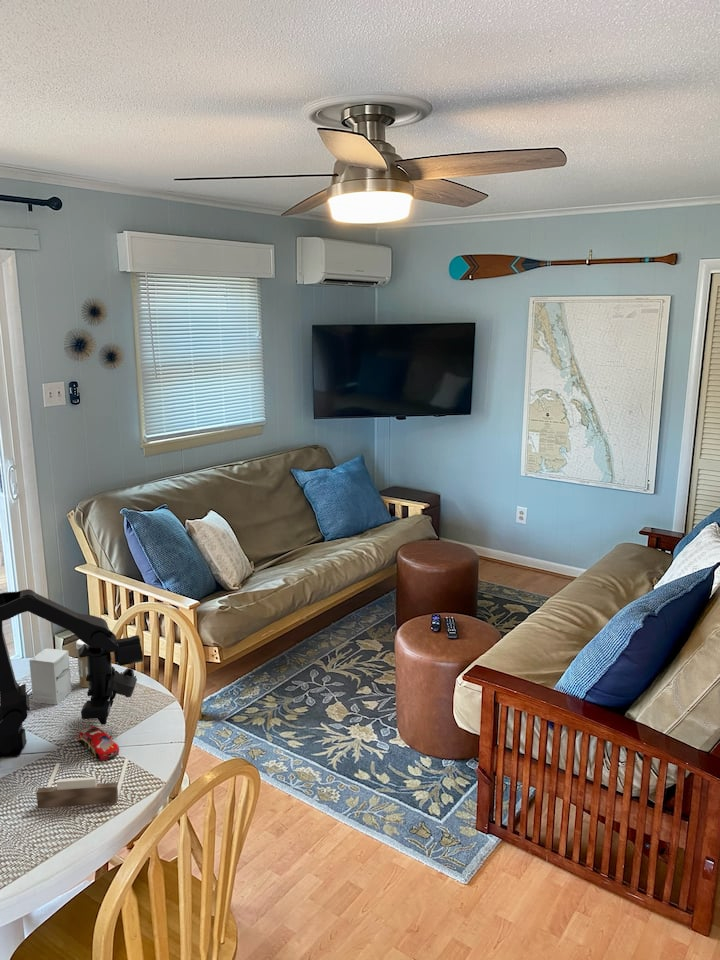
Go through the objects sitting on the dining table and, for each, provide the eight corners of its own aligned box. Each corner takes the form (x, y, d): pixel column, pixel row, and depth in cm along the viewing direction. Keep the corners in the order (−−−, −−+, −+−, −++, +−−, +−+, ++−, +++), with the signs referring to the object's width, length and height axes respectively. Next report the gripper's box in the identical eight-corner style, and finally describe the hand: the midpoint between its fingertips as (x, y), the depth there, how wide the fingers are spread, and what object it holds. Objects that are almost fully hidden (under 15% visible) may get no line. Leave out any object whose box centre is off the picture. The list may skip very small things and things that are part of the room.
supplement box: (56, 705, 195) (53, 662, 192) (32, 702, 197) (28, 659, 194) (72, 691, 202) (69, 650, 199) (48, 688, 204) (45, 647, 201)
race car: (122, 755, 175) (122, 741, 174) (101, 765, 171) (100, 750, 170) (96, 732, 184) (95, 718, 183) (76, 741, 180) (74, 727, 179)
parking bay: (37, 808, 156) (35, 784, 155) (56, 764, 171) (54, 741, 170) (116, 802, 159) (115, 778, 157) (128, 759, 173) (127, 737, 172)
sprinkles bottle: (95, 687, 205) (92, 643, 202) (78, 688, 204) (74, 645, 201) (97, 679, 209) (94, 636, 206) (80, 680, 208) (77, 637, 205)
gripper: (127, 685, 173) (130, 743, 177) (138, 649, 191) (141, 702, 195) (78, 688, 172) (83, 746, 176) (94, 651, 190) (98, 704, 193)
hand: (103, 723), depth 185 cm, fingers closed
